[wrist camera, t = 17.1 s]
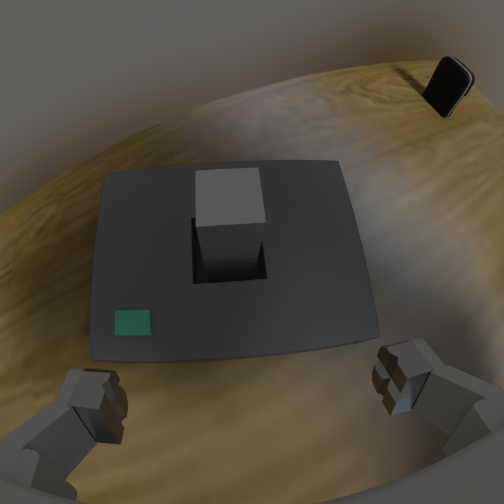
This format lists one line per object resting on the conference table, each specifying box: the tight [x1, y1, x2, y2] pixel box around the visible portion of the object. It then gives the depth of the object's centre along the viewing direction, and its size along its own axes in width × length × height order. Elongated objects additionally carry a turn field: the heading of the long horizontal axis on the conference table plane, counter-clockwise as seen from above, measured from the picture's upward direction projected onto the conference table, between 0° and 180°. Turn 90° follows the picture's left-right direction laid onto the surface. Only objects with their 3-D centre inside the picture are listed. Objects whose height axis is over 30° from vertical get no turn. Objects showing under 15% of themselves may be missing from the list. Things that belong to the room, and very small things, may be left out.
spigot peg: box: [195, 168, 266, 283], centre depth 24 cm, size 4×4×12 cm
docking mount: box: [90, 160, 380, 363], centre depth 28 cm, size 24×18×5 cm
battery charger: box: [422, 56, 475, 118], centre depth 40 cm, size 7×4×11 cm, turn 28°
